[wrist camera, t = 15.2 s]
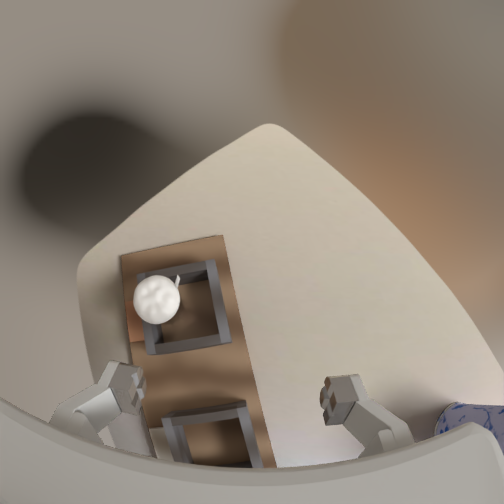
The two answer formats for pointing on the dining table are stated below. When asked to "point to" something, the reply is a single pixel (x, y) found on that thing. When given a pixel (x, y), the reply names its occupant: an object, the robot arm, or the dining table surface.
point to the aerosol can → (473, 419)
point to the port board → (197, 362)
